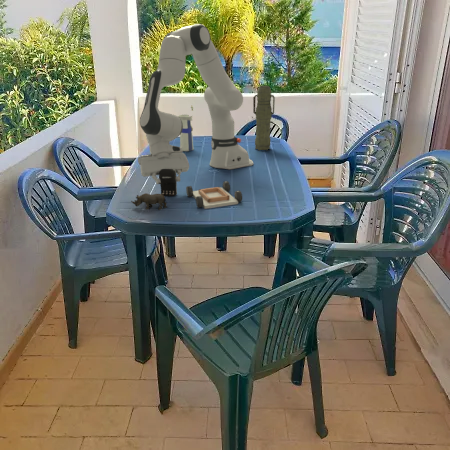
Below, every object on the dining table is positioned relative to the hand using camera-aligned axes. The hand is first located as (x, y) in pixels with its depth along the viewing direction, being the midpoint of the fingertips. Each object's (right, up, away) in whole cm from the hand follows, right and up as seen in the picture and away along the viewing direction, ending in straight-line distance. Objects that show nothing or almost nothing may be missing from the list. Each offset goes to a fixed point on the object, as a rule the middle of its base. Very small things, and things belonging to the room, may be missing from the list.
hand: (168, 182), depth 181 cm
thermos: (+45, +27, +74) cm, 91 cm away
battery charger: (0, -5, +3) cm, 6 cm away
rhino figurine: (-6, -11, -9) cm, 16 cm away
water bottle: (+1, +26, +74) cm, 79 cm away
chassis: (+19, -7, -1) cm, 20 cm away
